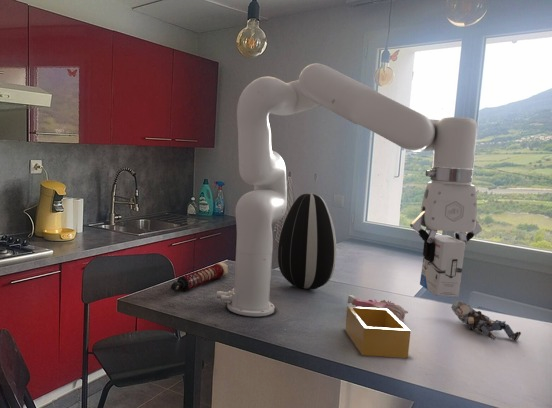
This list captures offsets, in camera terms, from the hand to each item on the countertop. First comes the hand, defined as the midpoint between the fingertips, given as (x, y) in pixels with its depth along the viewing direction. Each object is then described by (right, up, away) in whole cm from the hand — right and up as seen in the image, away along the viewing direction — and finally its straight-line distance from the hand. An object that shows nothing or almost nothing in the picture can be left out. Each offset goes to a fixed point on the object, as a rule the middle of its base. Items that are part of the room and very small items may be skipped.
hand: (442, 260), depth 98 cm
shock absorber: (-53, -13, +44) cm, 70 cm away
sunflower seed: (-21, -15, +46) cm, 52 cm away
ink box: (0, -7, +1) cm, 7 cm away
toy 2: (+17, -20, +16) cm, 31 cm away
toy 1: (-6, -18, +22) cm, 29 cm away
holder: (-13, -19, +5) cm, 24 cm away
